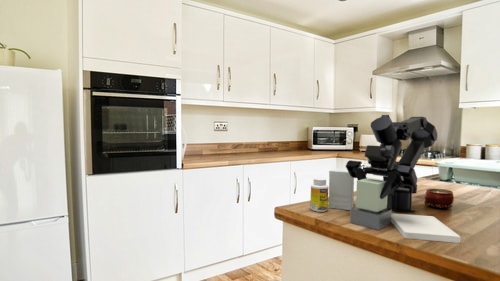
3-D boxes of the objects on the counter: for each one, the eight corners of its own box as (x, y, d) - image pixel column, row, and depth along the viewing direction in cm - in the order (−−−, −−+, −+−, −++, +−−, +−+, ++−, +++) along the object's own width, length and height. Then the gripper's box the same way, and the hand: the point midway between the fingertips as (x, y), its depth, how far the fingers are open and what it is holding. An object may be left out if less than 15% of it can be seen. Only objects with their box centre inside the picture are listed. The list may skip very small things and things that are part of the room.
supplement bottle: (319, 213, 90) (320, 180, 90) (306, 209, 95) (307, 178, 94) (331, 210, 93) (332, 179, 93) (318, 206, 98) (319, 176, 97)
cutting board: (388, 218, 86) (388, 213, 86) (432, 221, 84) (433, 216, 84) (404, 238, 71) (405, 232, 71) (460, 243, 68) (460, 236, 68)
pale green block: (365, 203, 86) (366, 178, 85) (386, 207, 81) (387, 181, 81) (356, 207, 82) (356, 180, 81) (377, 211, 77) (378, 184, 77)
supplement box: (353, 205, 100) (355, 169, 99) (351, 211, 93) (352, 172, 93) (332, 202, 103) (333, 167, 103) (328, 207, 97) (328, 170, 96)
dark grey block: (363, 216, 87) (364, 197, 87) (391, 223, 81) (391, 202, 81) (350, 222, 82) (351, 201, 82) (378, 230, 76) (379, 207, 76)
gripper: (349, 134, 90) (329, 173, 83) (415, 136, 76) (397, 183, 69) (360, 157, 96) (342, 196, 89) (423, 163, 82) (408, 209, 75)
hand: (369, 195), depth 80 cm, fingers closed on pale green block, 6 cm apart
